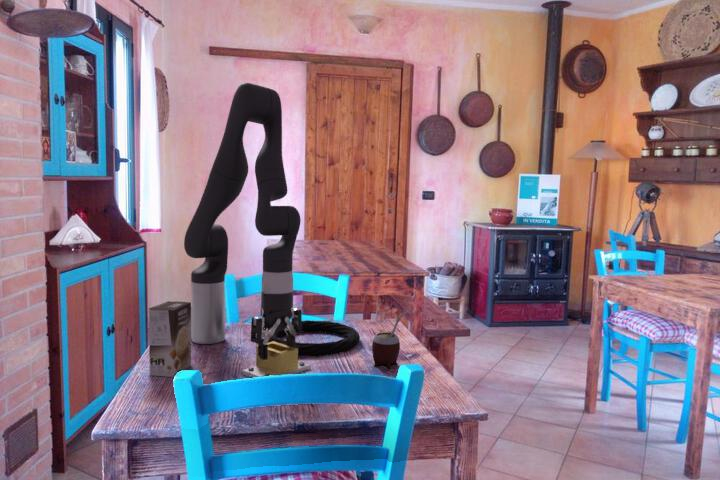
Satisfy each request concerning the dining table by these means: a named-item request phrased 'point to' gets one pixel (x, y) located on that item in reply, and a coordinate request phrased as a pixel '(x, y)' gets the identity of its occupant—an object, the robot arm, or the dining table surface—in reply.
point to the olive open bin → (279, 358)
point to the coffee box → (169, 338)
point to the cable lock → (323, 348)
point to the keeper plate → (260, 371)
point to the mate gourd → (386, 348)
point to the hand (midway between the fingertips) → (277, 354)
